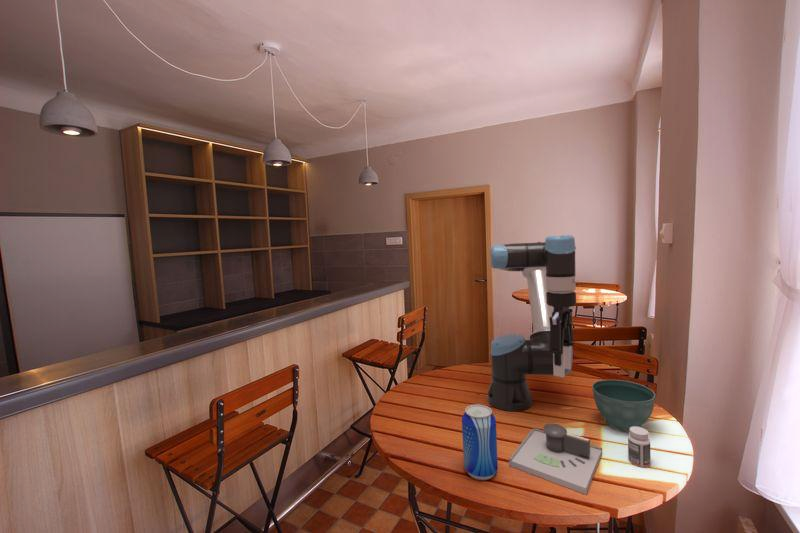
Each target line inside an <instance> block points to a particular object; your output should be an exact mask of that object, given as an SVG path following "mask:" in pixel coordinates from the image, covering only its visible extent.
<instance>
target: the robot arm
mask: <svg viewBox="0 0 800 533" xmlns="http://www.w3.org/2000/svg"><path fill="white" fill-rule="evenodd" d="M544 240H545V242H544V241H537V242H520V243H508V244H507V243H506V244H505V243H504V244H503V243H501V244H493V245H491V246H490V247H489V248H490V266H491V268H492V269H498V270H502V271H507V272H521V273H522V276H523V277H524V278H525V279H526V281H527V288H528V289H527V290H528V296H529V297H528V298H529V307H530V313H531V314H530V315H531V321H532V332H531V333H530V334H529V339H526V337H525V336H524V335H521V334H515V333H514V334H513V333H511V334H503V335H499V336H497V337H495V338H494V339H493V340H492V341H491V343H490V351H489V352H490V353H489V354H490V355H491V356H490V357H491V358H490V360H491V361H490V362H491V381H490V385H489V389H488V391H487V402H488V404H489V405H490V406H492V407H493V408H496V409H498V410H502V411H507V412H521V411H525V410H528V409H529V408H531V406H532V405H533V396H532V393H531V391H530V388H529V386H528V383H527V375H540V376H543V375H544V376H554V377H559V378H565V376H566V375H568V374H569V373H570V372H571V370H572V366H573V351H574V350H573V347H574V346H575V343H574V337H573V334H574V333H573V332H574V330H573V308H571V307H575V306H576V305H577V292H575V291H576V288H577V287H576V284H578V282H579V280H578V279H576V250H577V247H576V243H575V237H574V236H573V235H570V234H569V235H567V234H566V235H563V234H562V235H549V236H547V237H545V239H544Z"/></svg>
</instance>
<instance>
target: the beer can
mask: <svg viewBox="0 0 800 533" xmlns="http://www.w3.org/2000/svg"><path fill="white" fill-rule="evenodd" d="M461 430H462V452H463V467H464V470H465V471H466V472H467V474H468V475H469V476H470V477H471V478H473V479H475V480H479V481H487V480H491V479H492V478H493V477H494V476H495V474H497V472H498V469H499V468H498V466H499V465H498V461H499V460H498V439H497V434H498V433H497V420H496V417H495V416H494V414H493V410H492V408H490V407H489V406H487V405H485V404H479V403H477V404H471V405H468V406H467V407H466V408H465V409H464V413H463V414H462V417H461Z"/></svg>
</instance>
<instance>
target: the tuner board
mask: <svg viewBox="0 0 800 533" xmlns="http://www.w3.org/2000/svg"><path fill="white" fill-rule="evenodd" d="M540 453H541V454H543V455H545V456H547V457H550V458H553V459H558V460H559V468H558V467H553V466H551V464H550V465H546V464H543V463H541V462H542V461H541V462H539V461H537V460H535V459H534V457H536V456H537V455H539V454H540ZM602 456H603V448H602V447H600V446H598V445H593V444H590V456H589V457H590V458H589V459H587V458H584V457H581V456H579V454H576V453H573V452H570V451H567V450H564V451H563V452H553V451H551V450H549V449H548V448H547V447H546V434H545V433H544V429H543V430H541V429H539V428H536V427H532V428H531V431H530V432H528V434H527V435H526V436H525V438H524V439H523V440H522V442H521V443H520V444H519V445H518V447H517V448H516V449H515V450H514V452H513V453H512V454H511V455H510V456H509V457H508V466H509V467H511V468H514V469H517V470H519V471H522V472H524V473H527V474H530V475H533V476H536V477H538V478H541V479H544V480H547V481H549V482H552V483H554V484H557V485H560V486H562V487H565V488H568V489H569V490H573V491H575V492H577V493H578V492H579V493H581V494H583V495H587V493H588V491H589V489H590V486H591V484H592V481H593V478H594V476H595V474H596V471H597V468H598V466H599V465H600V464H599V463H600V461H601V458H602ZM575 458H578V459H580V460H582V461H584V462H585V464H583V463H581V462H579V461H577V460H576V459H575ZM560 460H561V461H563V462H564V464H565V466H566V467H563V466H562V464H561V462H560ZM568 460H571V461H572V462H573V463H574V464H576V465H577V467H574V466H573V465H572V464H571V463H570V462H569V461H568Z"/></svg>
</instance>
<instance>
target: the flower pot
mask: <svg viewBox="0 0 800 533" xmlns="http://www.w3.org/2000/svg"><path fill="white" fill-rule="evenodd" d="M591 389H592V390H591V391H592V395H593V399H594V403H595V406H596V408H597V409H598V411H599V413H600V415H601V416H602V417H603V418H604V421H605V423H606V425H608V426H609V427H610V428H612V429H615V430H618V431H622V432H628V433H629V430H630V427H633V426H636V427H641V428H643V425H644V424H645V423H646V422H648V420H649V419H650V417H651V416H652V414H653V411H654V407H655V400H656V393H655V392H654V391H653V390H652V389H650V388H649V387H647V386H645V385H642V384H640V383H636V382H634V381H628V380H623V379H622V380H621V379H602V380H597V381H595V382H594V383H592V386H591Z"/></svg>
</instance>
